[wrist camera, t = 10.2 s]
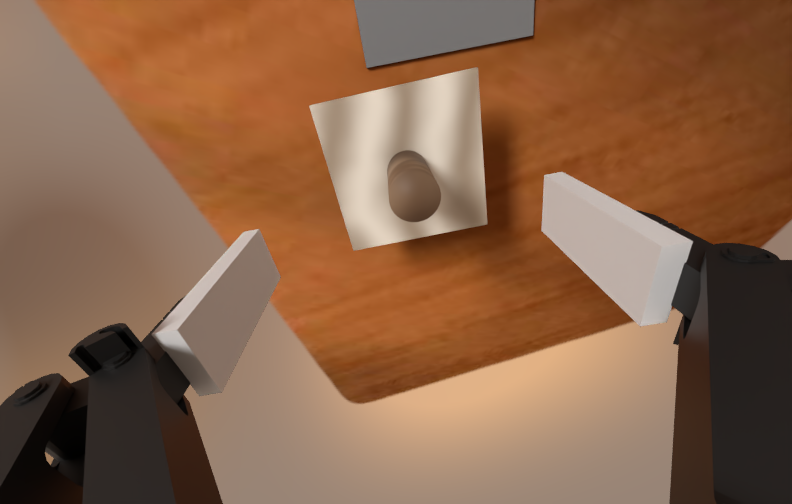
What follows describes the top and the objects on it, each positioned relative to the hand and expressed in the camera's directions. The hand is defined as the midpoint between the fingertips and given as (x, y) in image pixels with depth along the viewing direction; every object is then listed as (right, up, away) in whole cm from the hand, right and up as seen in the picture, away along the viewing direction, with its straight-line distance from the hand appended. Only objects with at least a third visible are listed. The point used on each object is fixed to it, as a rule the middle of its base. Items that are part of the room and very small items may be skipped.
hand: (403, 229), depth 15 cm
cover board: (+1, +7, +17) cm, 19 cm away
